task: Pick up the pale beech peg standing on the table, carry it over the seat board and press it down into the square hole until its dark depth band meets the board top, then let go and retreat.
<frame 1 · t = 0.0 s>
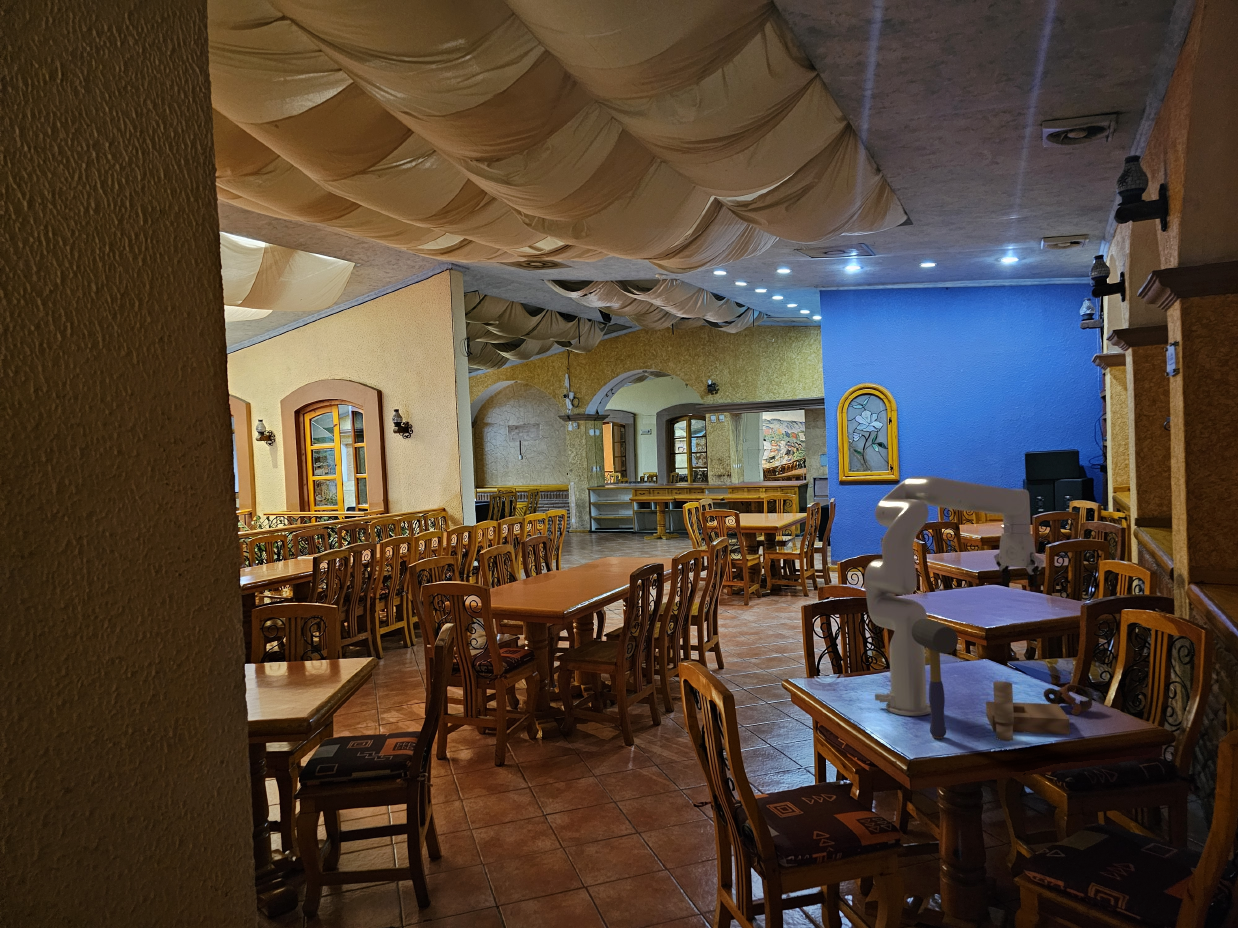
hand: (1019, 585, 256), 31 cm above the table, tool pointing down, fingers open, 9 cm apart
seat board: (1026, 724, 222), on the table
peg: (1004, 738, 212), on the table
rubber mallet: (938, 738, 215), on the table
dark looped piece: (1068, 711, 232), on the table
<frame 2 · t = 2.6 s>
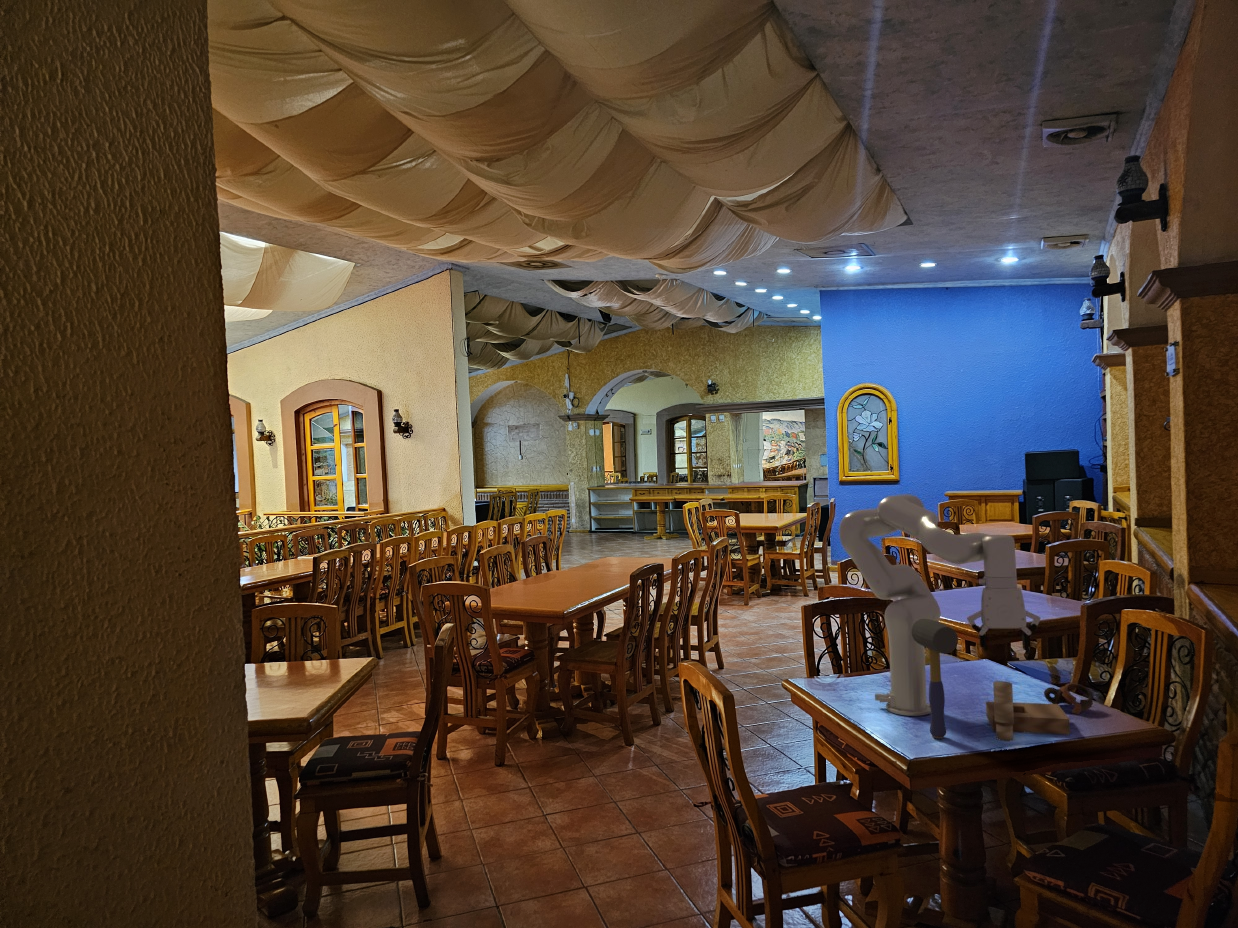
hand: (1005, 649, 214), 22 cm above the table, tool pointing down, fingers open, 9 cm apart
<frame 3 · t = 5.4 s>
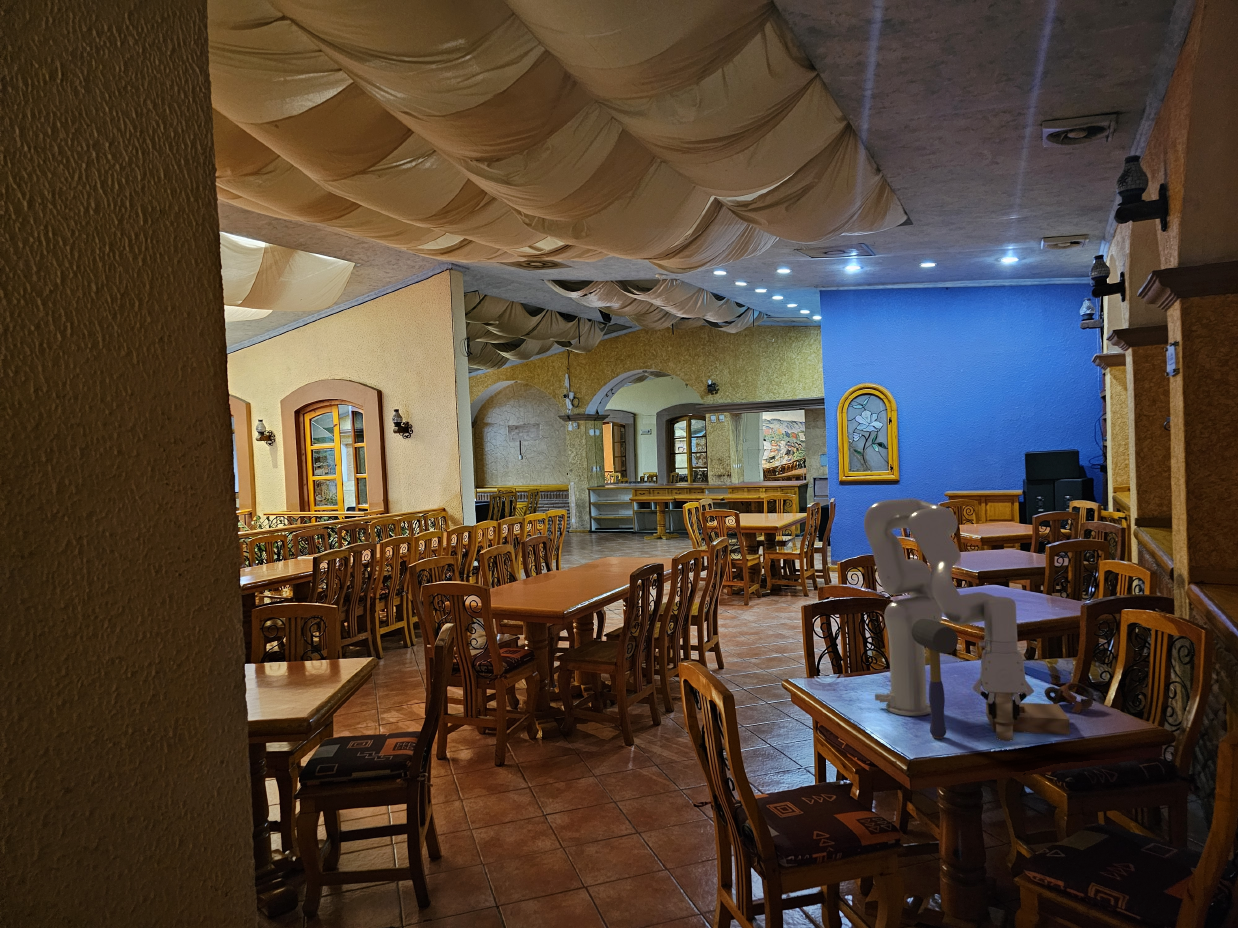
hand: (1004, 717, 212), 5 cm above the table, tool pointing down, fingers closed on peg, 4 cm apart
peg: (1004, 738, 212), on the table, touching gripper
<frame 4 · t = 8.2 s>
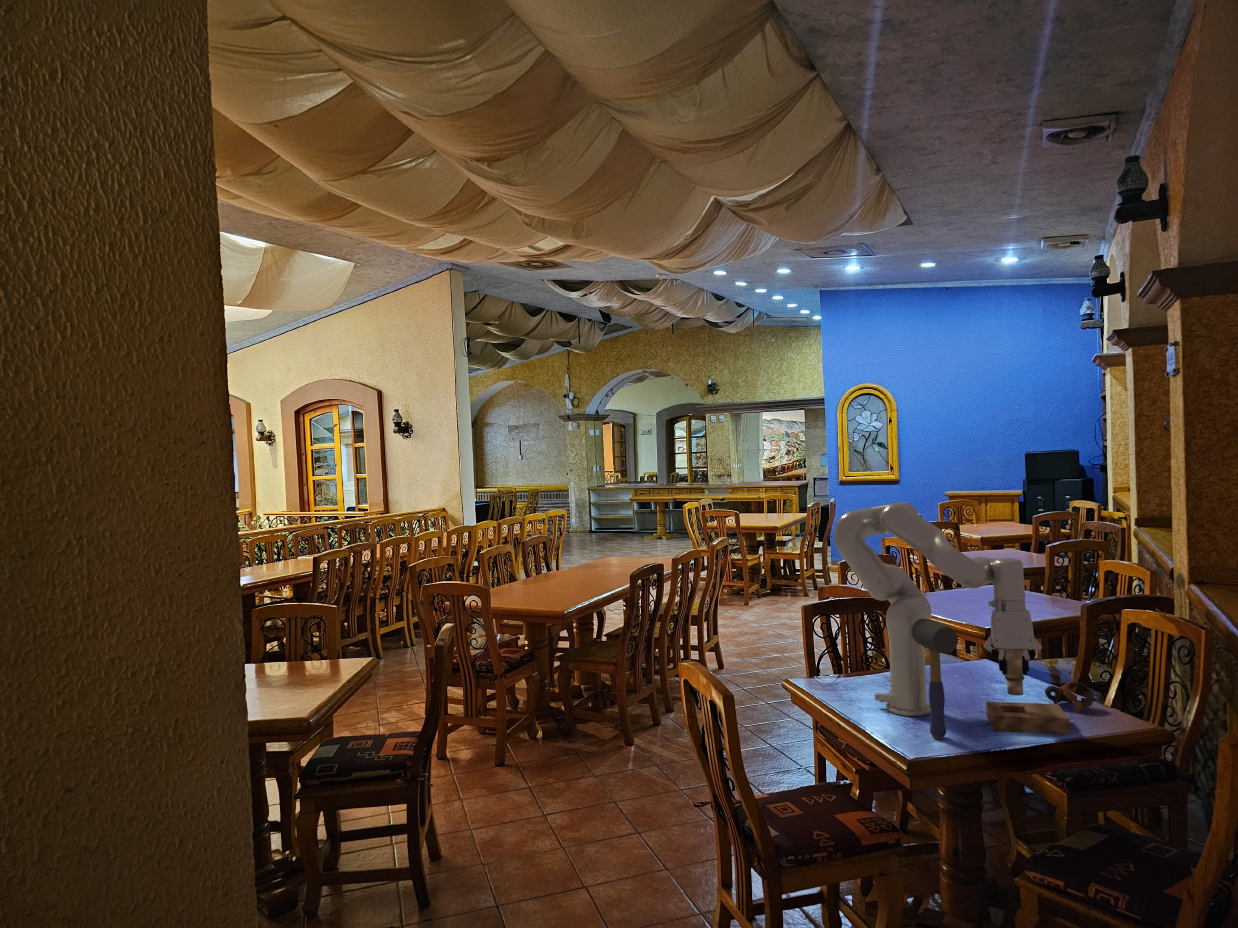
hand: (1014, 673, 222), 14 cm above the table, tool pointing down, fingers closed on peg, 4 cm apart
peg: (1015, 693, 222), point 8 cm above the table, touching gripper
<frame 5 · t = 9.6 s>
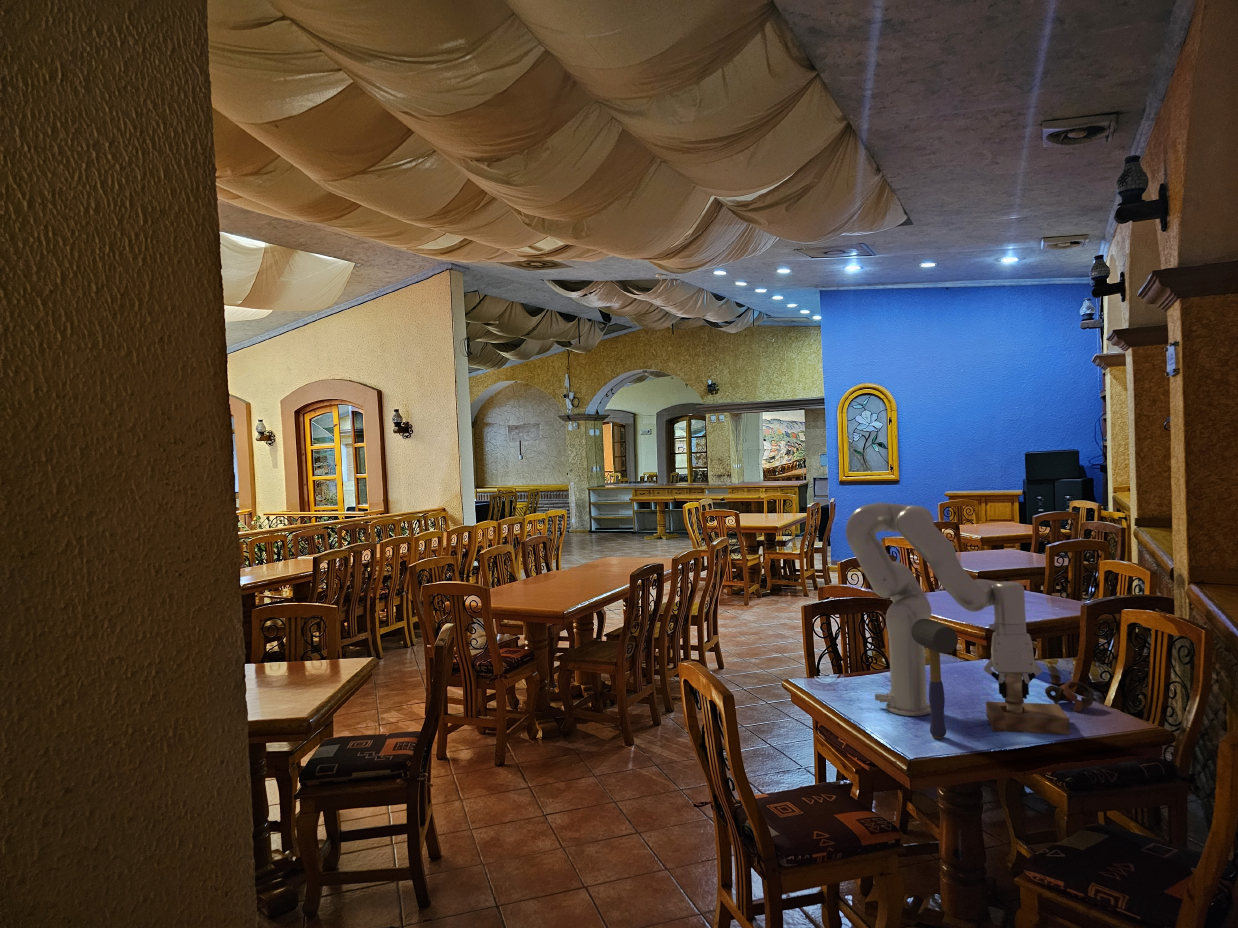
hand: (1014, 696, 222), 7 cm above the table, tool pointing down, fingers closed on peg, 4 cm apart
peg: (1015, 716, 222), point 2 cm above the table, touching gripper
when the fingers open (6 cm above the table, at t = 10.9 s): peg stays where it is, resting in seat board.
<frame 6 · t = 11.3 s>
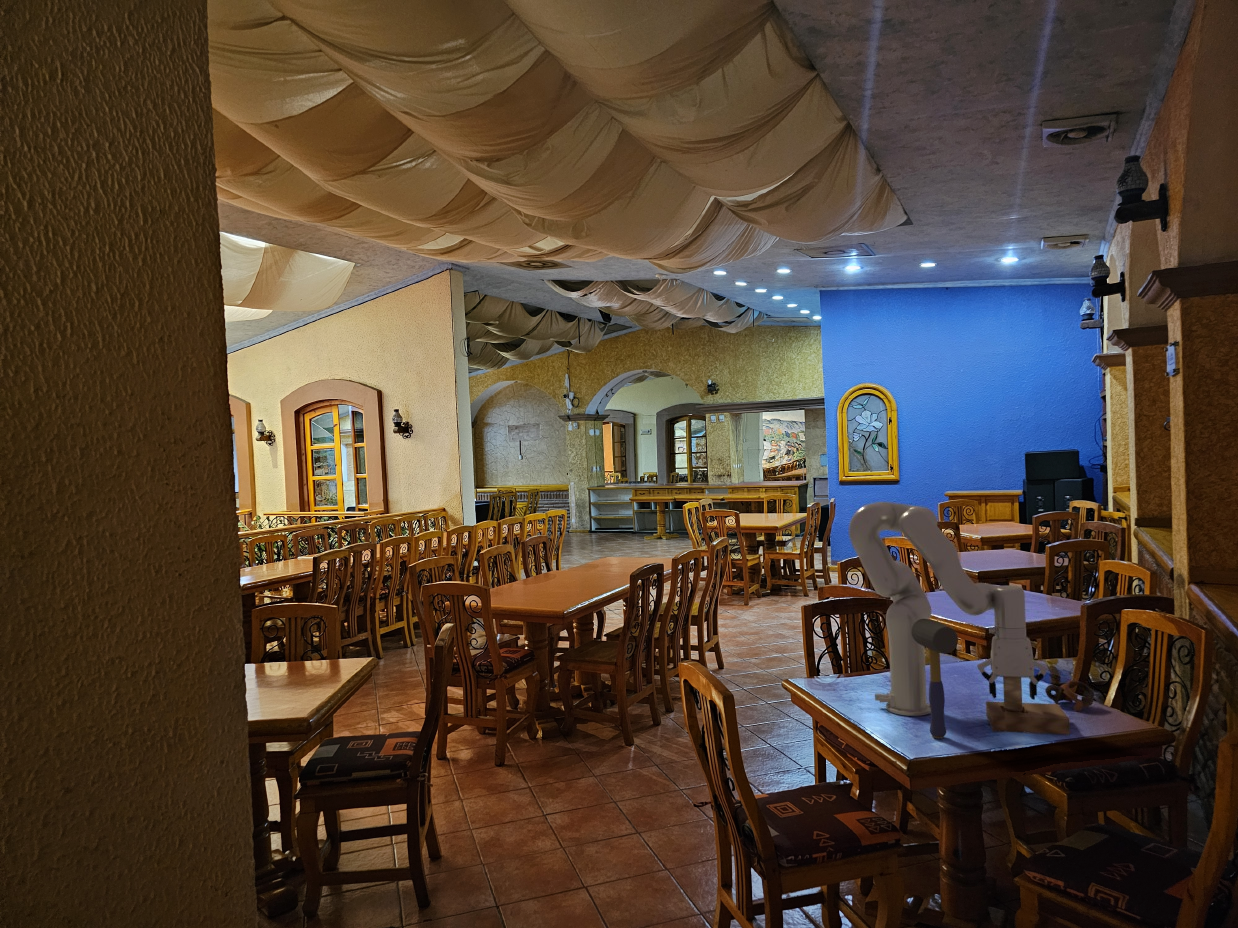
hand: (1013, 697, 222), 7 cm above the table, tool pointing down, fingers open, 9 cm apart
peg: (1013, 724, 222), resting in seat board
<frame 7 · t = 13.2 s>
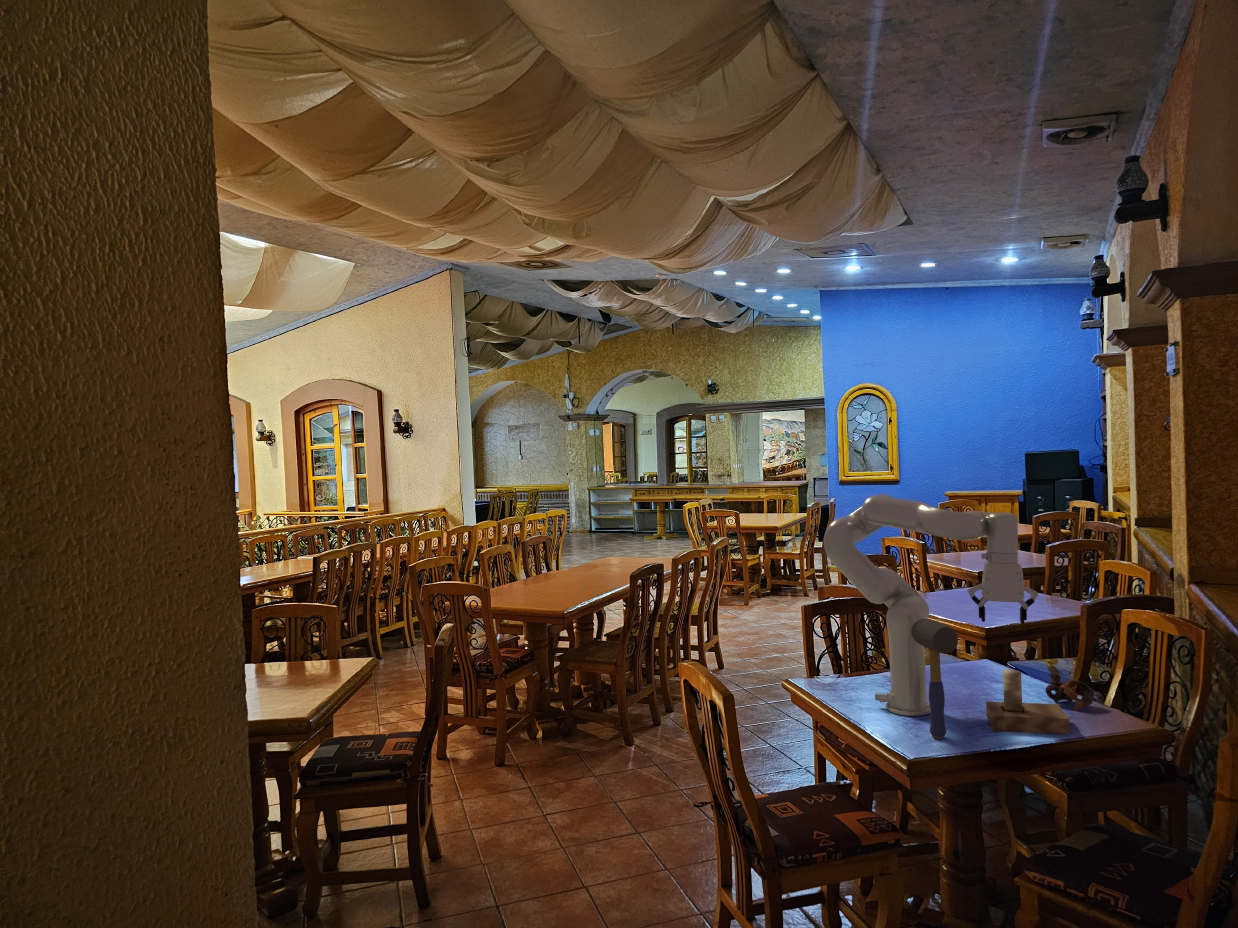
hand: (1002, 621, 225), 27 cm above the table, tool pointing down, fingers open, 9 cm apart
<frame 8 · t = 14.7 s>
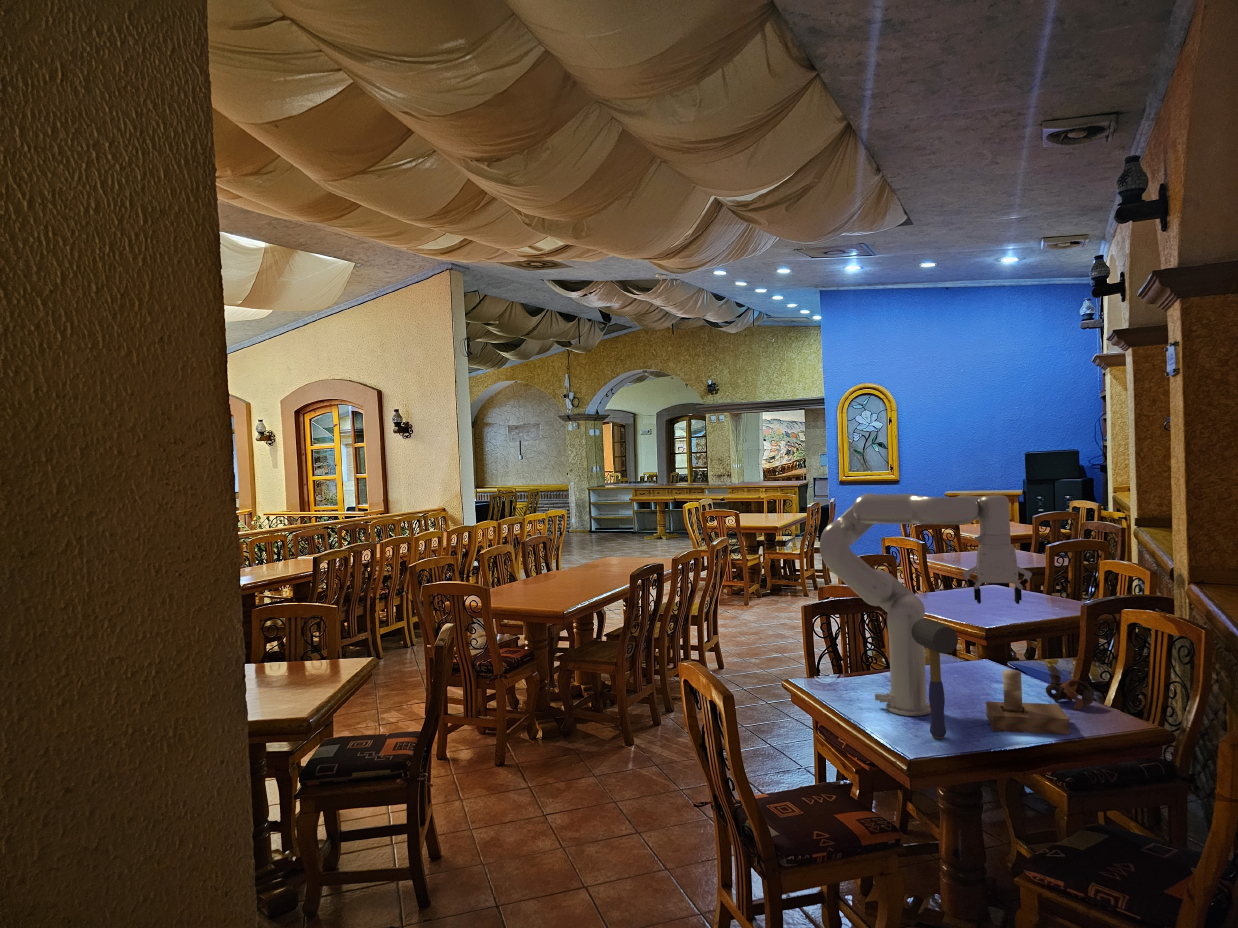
hand: (997, 602, 229), 31 cm above the table, tool pointing down, fingers open, 9 cm apart
at the end: peg 0.1 cm from the target spot on the seat board, point 0.0 cm above the seat board's base; peg tilted 0°; the gripper is holding nothing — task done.
